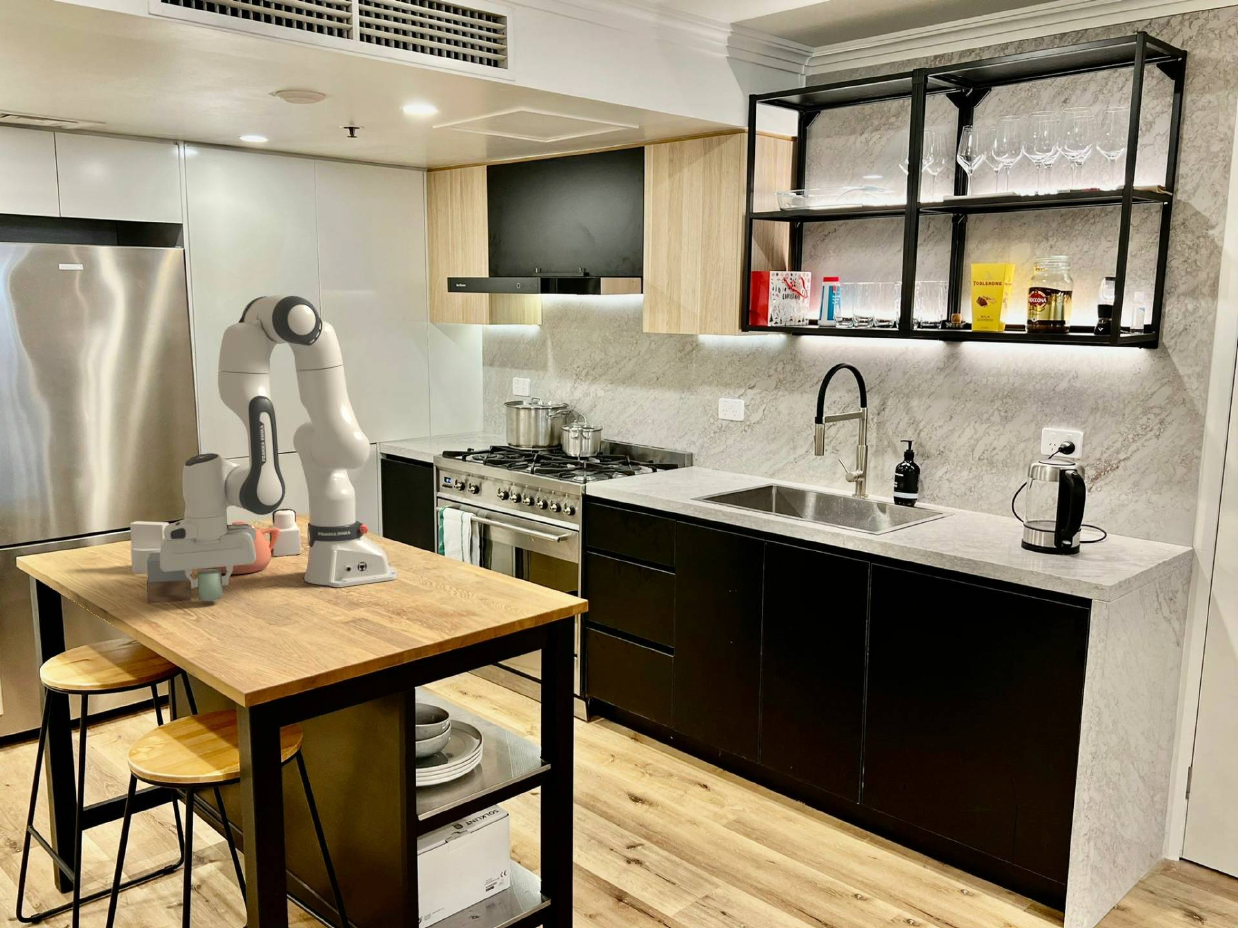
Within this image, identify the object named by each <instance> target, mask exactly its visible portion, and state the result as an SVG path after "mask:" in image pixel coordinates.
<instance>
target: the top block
mask: <svg viewBox="0 0 1238 928" xmlns="http://www.w3.org/2000/svg"><path fill="white" fill-rule="evenodd" d="M147 571H148V574H147V578H148V583H153V582H169V581H185V580H187V576H186V575H185V570H181V571H170V572H163V571H162V570H161V569H160V552H158V553H150V555H149V558H148V560H147Z"/></svg>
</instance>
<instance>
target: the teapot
mask: <svg viewBox="0 0 1238 928" xmlns="http://www.w3.org/2000/svg"><path fill="white" fill-rule="evenodd" d="M234 524H237V525H239V524H246V523H245V521H234V522H232V523H231V525H234ZM253 527H254V528H255V530H256V539H255V541H254V542H253V543H254V547H255V553H256V560H255V562H254V563H253V564H245V565H235V566H233V571H232V573H231V575H241V574H248V573H254V572H255V573H256V572H260V571H262V570H264V569H266V568H267V566H268V565H269V564H270V562H271V561H272V553H271V550H272V548H273V547H274V545H275V544H276V542H277V540H278V538H279V535H280V530H279V528H277V527H270V526H269V527H270V528H269V527H267V528H264V529H262V530H259V529H258V527H256V526H253ZM249 528H251V527H249ZM240 529H241V528H240ZM270 532H271V533H272V539H271V542H270V541H269V543H268V541H267V540H266V538H265V536H264V534H267V533H270ZM211 569H219V570H221V574H222V575H223V574H225V575H226V573H227V570H226V566H224V567H213V568H211Z"/></svg>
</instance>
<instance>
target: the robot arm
mask: <svg viewBox="0 0 1238 928" xmlns="http://www.w3.org/2000/svg"><path fill="white" fill-rule="evenodd" d="M222 335H223V336H222V339H221V342H220V343H221V344H220V348H219V350H220V351H219V356H218V368H217V369H218V371H217V372H218V373H217V385H218V392H219V393H218V394H219V397H220V399H221V401H222V403H223V404H224V406H226V407H227V408H228V409H229V410H230V411H232V412H233V413H234V414H235V415H236V416H237V417H238V418H239V419H240V420H241V422H242V423H243V426H244V428H245V430H246V433H247V445H248V446H247V447H248V448H247V449H248V463H249V465H246V464H241V463H238V462H233V461H230V460H227V459H226V458H224V457H221V456H220V455H219V454H217V453H211V452H209V453H208V452H207V453H201V454H197V455H194V456H191V457H190V458H188V459H187V460H186V461H185V463H184V465H183V468H182V469H183V470H182V497H183V500H184V504H185V508H184V509H185V510H184V512H183V513H184V514H183V515H184V516H183V517H184V519H181V520H178V521H176V522H173V523H169V525H167V526H166V527H165V529H164V537H165V538H164V539H163V541H162V544H161V550H160V569H161V570H162V571H163V572H170V571H181V570H185V575H186V576H187V578H188V579H189V580H190V581H191V590H192V589H198V578H194V577H193V576H192V574H193V570H201V569H202V570H203V569H212V568H213V567H224V566H226V570H227V573H226V574H225V575H224V576H222V575H221V577H222V587H223V586H229V585H230V584H229V578H230V576H231V575H232V574H231V573H232V571H233V566H235V565H245V564H253V563H254V562H255V560H256V553H255V547H254V543H253V542H254V541H255V539H256V530H255V528H254V527H255V526H253V525H251V524H249V523H245V524H239V525H237V524H234V525H232V524H228V513H227V509H228V507H232V506H234V507H235V508H239V509H243V510H246V511H247V512H250V513H252V514H255V515H258V516H264V515H269V514H272V513H273V512H274V511H275V510H278V508H279V506H280V505H281V504H282V502H284V501H283V500H284V498H285V495H286V484H285V480H284V478H283V475H282V471H281V467H280V461H279V444H278V428H277V419H276V411H275V407H274V405H273V401H272V395H271V379H270V378H271V374H270V373H271V356H272V352H273V351H274V348H276V345H278V344H279V345H280V344H282V345H283V344H288V346H289V348H290V349H291V350H292V353H293V359H294V364H295V365H294V367H295V372H296V374H295V375H296V381H297V387H298V392H299V399H300V403H301V404H302V406H303V407H304V409H305V410H306V412H307V414H308V416H309V420H310V421H307V422H304V423H302V424H301V425H299V426H298V427H297V428H296V430H295V432H294V435H293V437H292V438H293V441H292V443H293V448H294V450H295V451H296V453H297V455H298V457H299V460H300V461H301V466H302V470H303V475H304V478H305V481H306V482H305V483H306V486H307V493H308V514H309V515H308V517H309V522H308V523H307V529H306V530H307V544H308V546H309V548H308V551H309V552H308V559H307V566H306V570H305V575H304V577H303V579H304V581H306V582H307V583H309V584H313V585H320V586H328V587H332V588H343V587H350V586H357V585H365V584H372V583H379V582H385V581H394V580H396V579H397V578H398V570H397V568H395V566H393V565H391V564H389V560H388V557H387V553H386V552H385V550H384V548H383V547H381V545H379V544H377V543H375V542H374V541H373V540H371V539H370V538H368V537H367V536H366V534H367V533H368V532H369V527H368V526H367V525H366V524H364V523H362V522H361V521H358V520H357V518H356V515H357V513H356V510H357V509H356V491H355V488H354V486H353V484H352V482H351V481H350V478H349V475H348V471H352V470H356V469H358V468H360V467H362V466H363V465H365V463H366V462H367V460H368V459H369V456H370V453H371V444H370V441H369V439H368V437H367V436H366V435H365V433H364V432H363V431H362V428H361V426H360V424H359V422H358V419H357V418H356V414H355V411H354V409H353V406H352V404H351V400H350V396H349V393H348V388H347V381H346V375H345V374H346V373H345V367H344V361H343V354H342V349H341V347H340V343H339V340H338V337H337V334H336V330H335V328H334V327H333V325H332V324H331V323H329V322H328V321H325V320H322V319H321V317H320V316H319V313H318V310H317V309H316V307H315V306H314V305H313V304H312V303H311V301H309V300H307V299H306V298H304V297H301V296H297V295H286V294H274V295H270V296H269V295H268V296H267V295H266V296H265V295H264V296H259V297H257V298H254V299H252V300H251V301H250V302H248V304H247V305H246V306H245V307H244V309H243V312H242V314H241V317H240V319H239V320H238V322H237V323H233V324H231V325H230V326H227V328H226V329H225V330H224V332H223V334H222ZM249 527H251V528H249ZM240 528H241V529H240Z"/></svg>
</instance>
